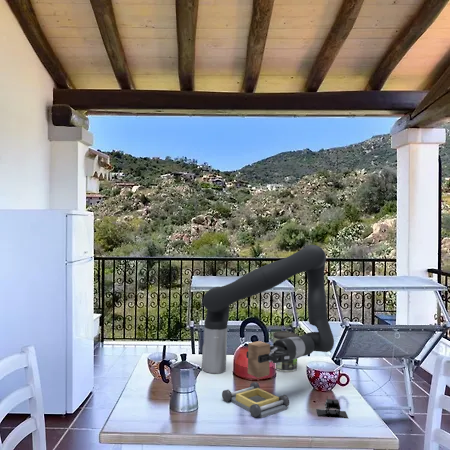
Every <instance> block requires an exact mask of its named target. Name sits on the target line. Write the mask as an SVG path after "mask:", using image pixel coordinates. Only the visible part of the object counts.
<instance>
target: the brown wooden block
mask: <svg viewBox="0 0 450 450" xmlns="http://www.w3.org/2000/svg"><path fill="white" fill-rule="evenodd" d="M270 345H271V344H270V343H268V342H264V341H261V340H258V341H253V342H248V344H247V348H248V349H247V351H248V358H247V374H248V375H250V376H253V377H255V378H258V379H260V378H263V377H267V376H269V375H270V363H271V362H268V361H266V362H262V363H259V362H258V356H260V355H264V354H268V353H270Z"/></svg>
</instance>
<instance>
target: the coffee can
mask: <svg viewBox="0 0 450 450" xmlns="http://www.w3.org/2000/svg"><path fill="white" fill-rule="evenodd" d="M272 334H273V340H272V341H273V344H274V342H275V341H276V340H279V339H284V338H289V337H297V336H299V334H298V333H295V332H293V331H292V332H291V331H281V330H280V331H274V332H273V333H272ZM273 344H272V345H273ZM276 369H277V370H278V371H277V370H276V371H277V372H283V373H292V372H293V373H294V372H296V371H297V370H298V358H297V359H293V360H289V361H286V362H278V363H276Z"/></svg>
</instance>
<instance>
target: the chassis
mask: <svg viewBox="0 0 450 450" xmlns="http://www.w3.org/2000/svg"><path fill="white" fill-rule="evenodd" d="M221 398H222V399H223V401H224V402H225V403H227V402H231V403H232V404H235V405H236V406H238V407H240V408H242V409H243V410H246V411H247V412H249V413H250V415H251V416H252V418H258V417H259V418H260V419H264V418H267V417H269V416H271V414H272V415H275V414H277V413H280V412H283V411H286V410H287V407H289V406H290V399H289V397H288V396H287V395H286V394H282V395H280V396H278V395H275V394H272V393H270V392H268V391H266V390H264V389H262V388H261V387H260V384H259V383H258V381H257V382H256V381H253V382H251V383H250V385H249V387H246V388H243V389H239V390H235V391H231V390H230V389H224V390H222V392H221ZM274 413H275V414H274ZM268 415H269V416H268Z"/></svg>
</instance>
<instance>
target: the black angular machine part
mask: <svg viewBox="0 0 450 450" xmlns="http://www.w3.org/2000/svg"><path fill="white" fill-rule="evenodd" d="M325 400H326V401H325V403H324V409H320V408H315V409H316V410H315V411H316V414H317V418H318V417H320V418H322V417H323V418H332V419H333V418H334V419H335V418H336V419H349V416H348V414H347V412H346V410H341V405H340V402H339V399H334V398H333V399H332V398H326V399H325Z"/></svg>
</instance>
